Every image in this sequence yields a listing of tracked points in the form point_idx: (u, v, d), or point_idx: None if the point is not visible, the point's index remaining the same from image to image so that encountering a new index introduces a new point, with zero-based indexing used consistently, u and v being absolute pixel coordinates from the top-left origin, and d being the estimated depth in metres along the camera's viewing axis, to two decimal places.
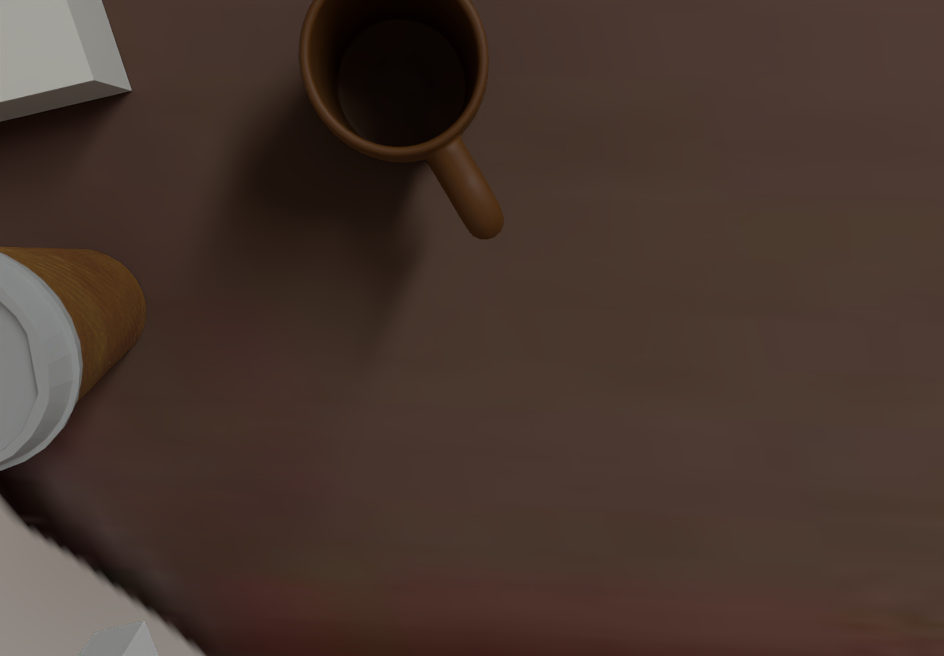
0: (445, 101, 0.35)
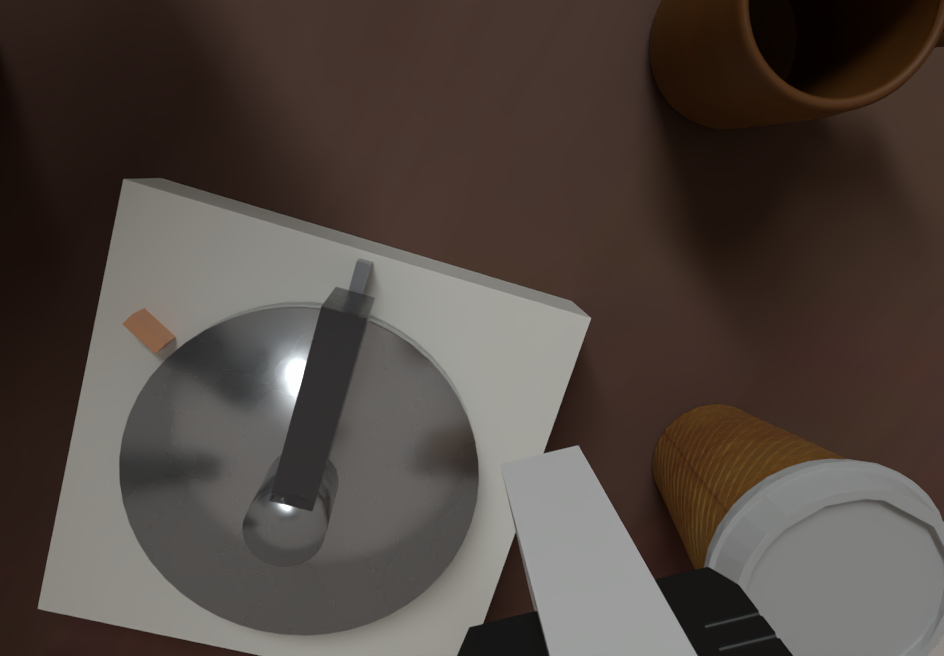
0: (765, 7, 0.31)
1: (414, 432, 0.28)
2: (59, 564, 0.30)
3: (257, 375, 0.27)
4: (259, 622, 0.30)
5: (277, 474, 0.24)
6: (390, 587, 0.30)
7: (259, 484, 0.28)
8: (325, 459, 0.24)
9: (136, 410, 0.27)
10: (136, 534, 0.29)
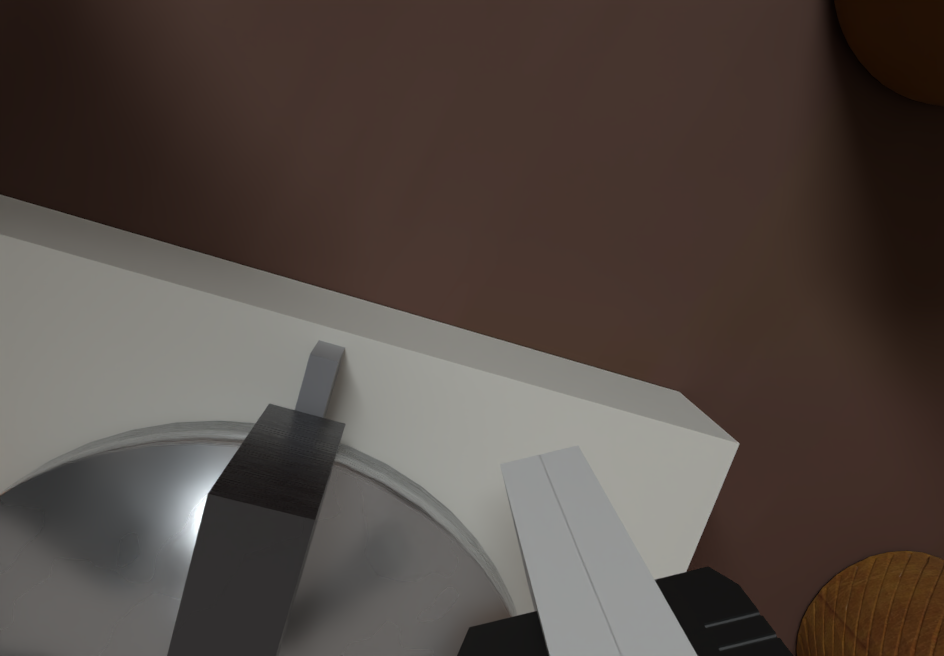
0: None
1: None
2: None
3: (121, 569, 0.14)
4: None
5: None
6: None
7: None
8: None
9: None
10: None
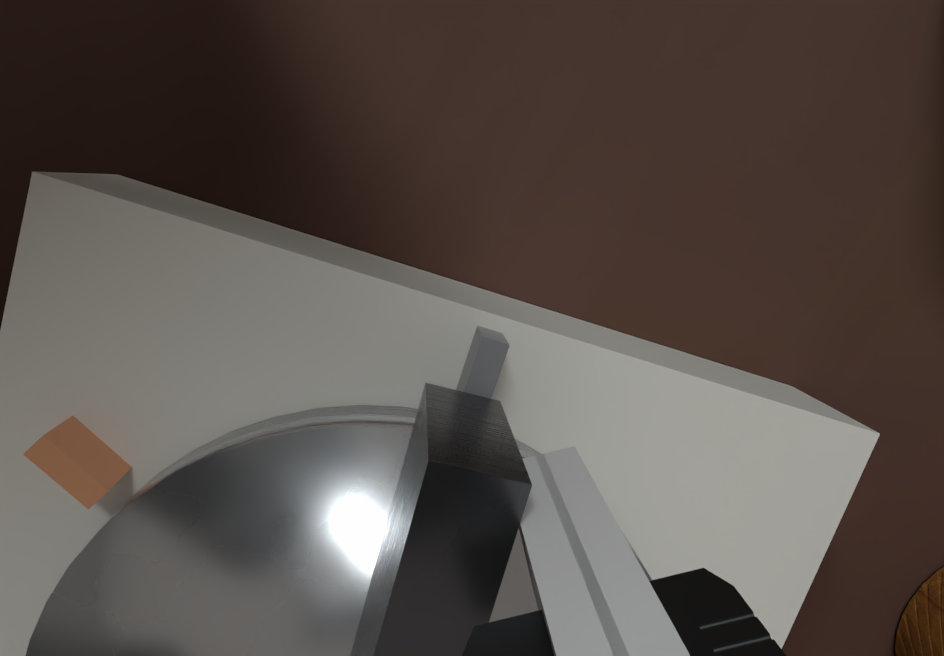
0: None
1: None
2: None
3: (275, 555, 0.14)
4: None
5: None
6: None
7: None
8: None
9: (45, 630, 0.14)
10: None
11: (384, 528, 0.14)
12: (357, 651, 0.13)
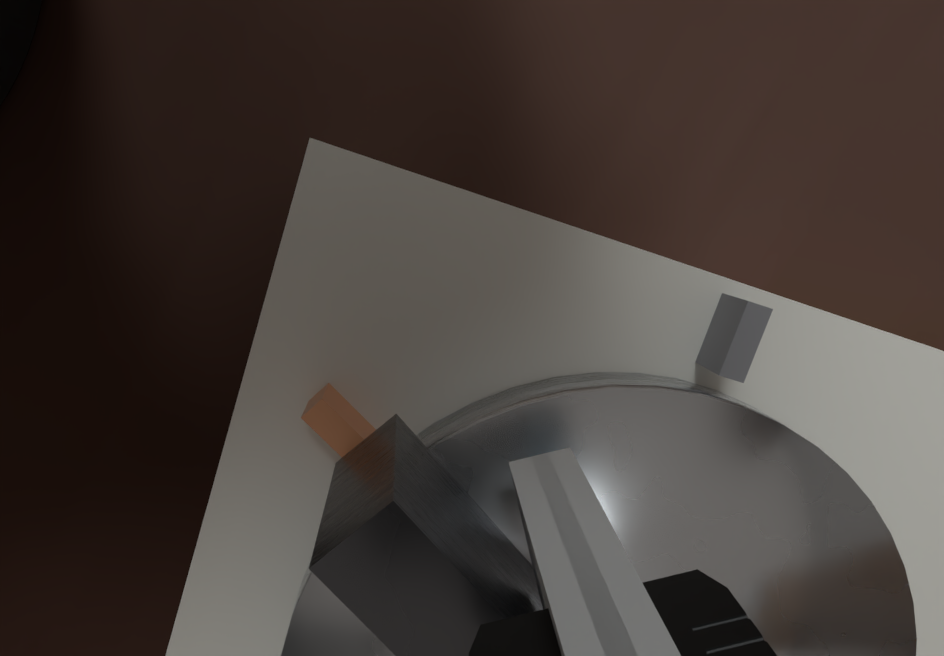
0: None
1: (660, 493, 0.15)
2: None
3: None
4: None
5: None
6: None
7: None
8: None
9: None
10: None
11: None
12: None
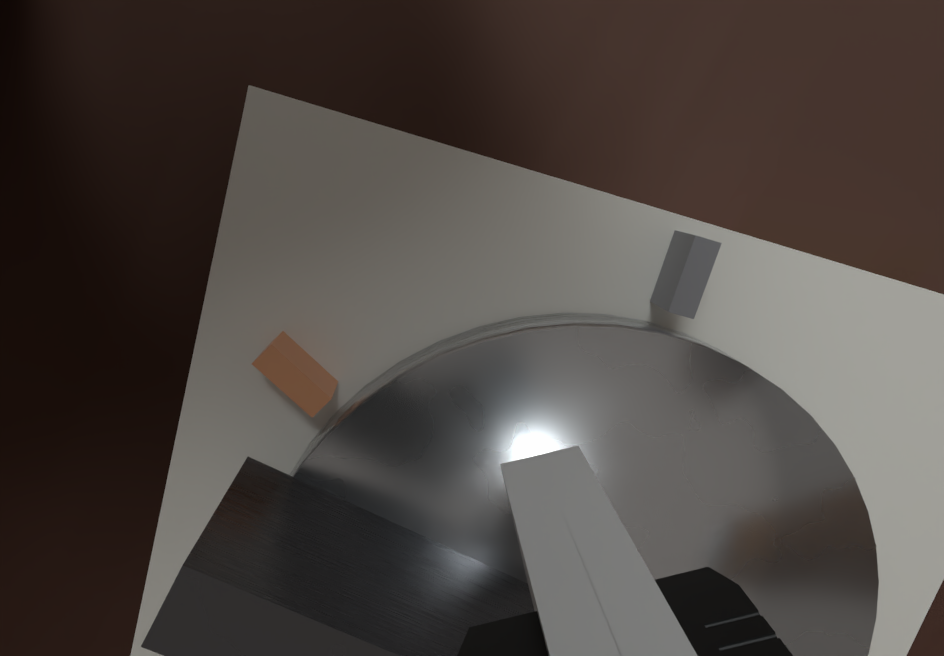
0: None
1: (529, 435, 0.15)
2: None
3: None
4: None
5: None
6: (822, 535, 0.16)
7: None
8: None
9: None
10: None
11: None
12: None
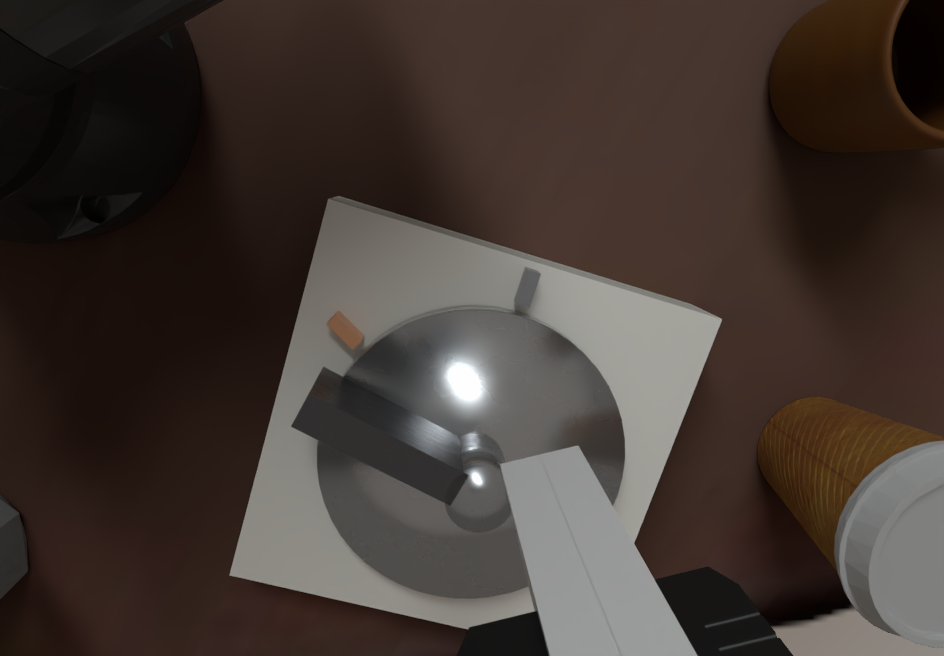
0: None
1: (452, 360, 0.31)
2: (251, 535, 0.34)
3: (371, 474, 0.32)
4: None
5: (428, 493, 0.29)
6: (595, 414, 0.33)
7: None
8: (425, 454, 0.28)
9: (379, 567, 0.34)
10: (484, 596, 0.34)
11: None
12: None
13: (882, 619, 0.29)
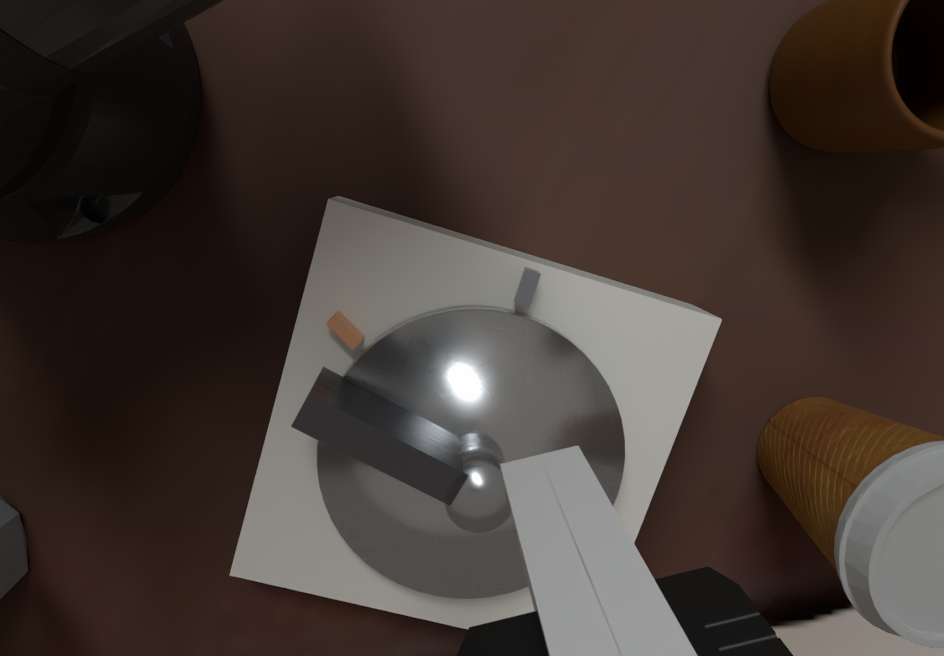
0: None
1: (452, 360, 0.31)
2: (251, 535, 0.34)
3: (371, 474, 0.32)
4: None
5: (428, 493, 0.29)
6: (595, 414, 0.33)
7: None
8: (425, 454, 0.28)
9: (379, 567, 0.34)
10: (484, 596, 0.34)
11: None
12: None
13: (882, 619, 0.29)
